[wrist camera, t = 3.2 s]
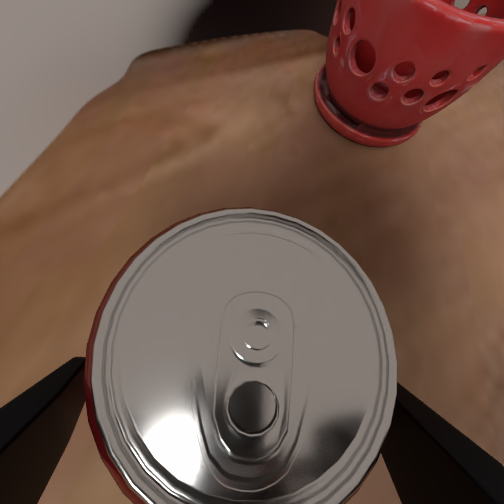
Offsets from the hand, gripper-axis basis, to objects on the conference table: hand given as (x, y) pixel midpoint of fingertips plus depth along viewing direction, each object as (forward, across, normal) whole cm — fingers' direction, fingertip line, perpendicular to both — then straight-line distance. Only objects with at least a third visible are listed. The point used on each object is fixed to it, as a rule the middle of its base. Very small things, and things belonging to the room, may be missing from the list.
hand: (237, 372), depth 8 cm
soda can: (+7, 0, +6) cm, 9 cm away
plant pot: (+24, -12, -11) cm, 29 cm away
